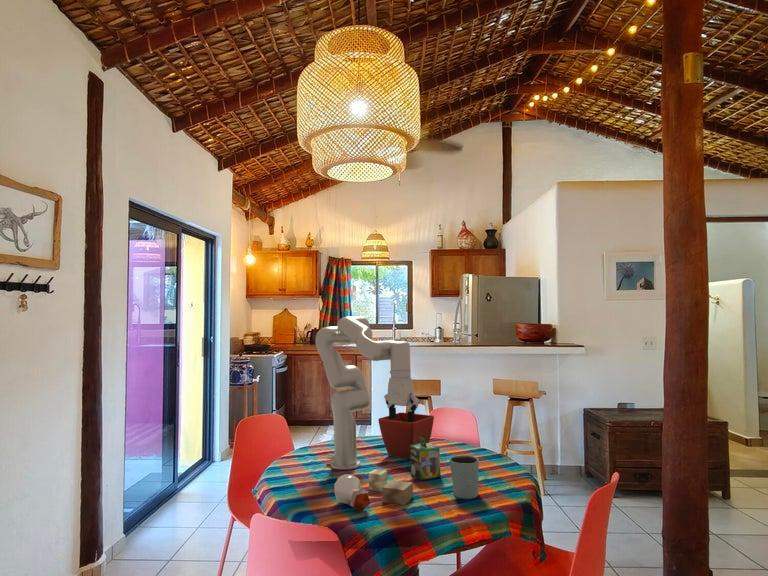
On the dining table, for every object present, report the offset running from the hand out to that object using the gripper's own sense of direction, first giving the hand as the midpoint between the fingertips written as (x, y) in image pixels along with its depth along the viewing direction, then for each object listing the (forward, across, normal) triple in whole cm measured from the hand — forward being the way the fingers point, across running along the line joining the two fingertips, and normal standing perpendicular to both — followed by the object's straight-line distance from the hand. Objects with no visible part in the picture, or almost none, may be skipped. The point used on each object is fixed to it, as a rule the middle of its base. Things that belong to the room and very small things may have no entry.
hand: (401, 420), depth 183 cm
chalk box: (+24, -1, +14) cm, 28 cm away
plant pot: (+24, -26, +31) cm, 47 cm away
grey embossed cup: (+24, +23, +8) cm, 34 cm away
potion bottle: (+24, +1, -26) cm, 35 cm away
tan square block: (+24, +9, -12) cm, 28 cm away
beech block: (+24, -4, -9) cm, 26 cm away
